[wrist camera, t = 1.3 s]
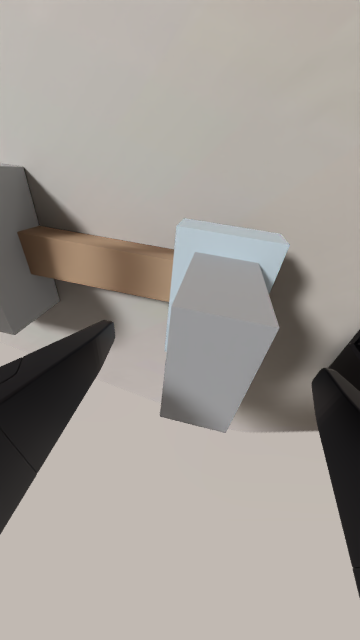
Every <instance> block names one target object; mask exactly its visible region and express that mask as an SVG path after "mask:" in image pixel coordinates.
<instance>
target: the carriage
mask: <svg viewBox="0 0 360 640" xmlns="http://www.w3.org/2000/svg"><path fill="white" fill-rule="evenodd" d="M289 246H290V244H289V243H288V242H287V241H286V240H285V238H284V237H283V236H282V235H281V234H279V233H273V232H266V231H260V230H254V229H248V228H242V227H236V226H230V225H224V224H217V223H211V222H205V221H199V220H193V219H187V218H184V219H183V220H182V221H181V222H180V223H179V224H178V225H177V227H176V238H175V248H174V258H173V269H172V279H171V290H170V300H169V311H168V321H167V331H166V342H165V352H167V354H166V363H165V373H164V382H163V392H162V401H161V411H160V416H161V417H164V418H168V419H172V420H176V421H180V422H184V423H188V424H192V425H196V426H200V427H204V428H208V429H212V430H216V431H220V432H224V433H226V431H227V429H228V427H229V425H230V423H231V421H232V420H233V418H234V416H235V414H236V412H237V410H238V408H239V406H240V404H241V402H242V400H243V398H244V396H245V394H246V392H247V390H248V388H249V386H250V384H251V382H252V381H253V379H254V377H255V375H256V373H257V371H258V369H259V367H260V365H261V363H262V361H263V359H264V357H265V355H266V353H267V351H268V349H269V347H270V345H271V343H272V342H273V340H274V338H275V336H276V334H277V332H278V330H279V325H278V322H277V319H276V316H275V312H274V309H273V306H272V303H271V300H270V297H269V293H270V291H271V289H272V286H273V284H274V281H275V279H276V277H277V274H278V272H279V270H280V267H281V265H282V262H283V260H284V258H285V255H286V253H287V251H288V248H289Z"/></svg>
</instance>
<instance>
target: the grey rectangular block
mask: <svg viewBox="0 0 360 640" xmlns="http://www.w3.org/2000/svg"><path fill="white" fill-rule="evenodd" d="M36 226H39V223H38V219H37V216H36V212H35V208H34V205H33V201H32V197H31V194H30V190H29V186H28V183H27V179H26V175H25V172H24V168H23V167H21V166H14V165H8V164H1V163H0V332H4V333H8V334H12V335H16V334H17V333H18V332H20V331H21V330H22V329H24V328H25V327H26V326H27V325H29V324H30V323H31V322H33V321H34V320H35V319H37V318H38V317H39V316H41V315H42V314H43V313H45V312H46V311H47V310H49V309H50V308H51V307H52V306H54V305H55V304H56V303H58V302H59V301H60V300H59V296H58V293H57V289H56V285H55V282H54V279H52V278H47V277H42V276H37V275H32V274H31V272H30V269H29V266H28V263H27V260H26V257H25V254H24V251H23V248H22V245H21V243H20V240H19V237H18V234H17V232H19V231H22V230H26V229H29V228H33V227H36Z"/></svg>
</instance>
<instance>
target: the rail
mask: <svg viewBox="0 0 360 640" xmlns="http://www.w3.org/2000/svg"><path fill="white" fill-rule="evenodd" d="M17 234H18V237H19V240H20V243H21V245H22V248H23V251H24V254H25V257H26V260H27V263H28V266H29V269H30V272H31V274H32V275H37V276H42V277H47V278H52V279H57V280H62V281H67V282H72V283H77V284H82V285H87V286H92V287H97V288H102V289H107V290H112V291H117V292H122V293H127V294H132V295H137V296H142V297H147V298H152V299H157V300H162V301H167V302H169V300H170V290H171V279H172V269H173V258H174V250H173V249H168V248H162V247H156V246H151V245H145V244H139V243H134V242H128V241H123V240H117V239H111V238H106V237H100V236H94V235H89V234H83V233H78V232H72V231H66V230H61V229H55V228H49V227H44V226H36V227H33V228H29V229H26V230H22V231H19V232H17Z"/></svg>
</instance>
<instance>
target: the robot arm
mask: <svg viewBox="0 0 360 640" xmlns="http://www.w3.org/2000/svg"><path fill="white" fill-rule="evenodd" d="M114 339H115V329H114V323H113V322H112V321H108V320H103V321H100V322H98V323H96V324H94V325H92V326H89V327H87V328H85V329H83V330H81V331H78V332H76V333H74V334H72V335H70V336H67V337H65V338H63V339H61V340H59V341H56V342H54V343H52V344H50V345H48V346H45V347H43V348H41V349H39V350H37V351H34V352H32V353H30V354H28V355H26V356H24V357H23V358H19V359H17V360H15V361H12V362H10V363H8V364H6V365H3V366H1V367H0V534H1V532H2V531H3V529H4V527H5V526H6V524H7V523H8V521H9V519H10V518H11V516H12V514H13V513H14V511H15V509H16V508H17V506H18V505H19V503H20V501H21V499H22V498H23V496H24V495H25V493H26V491H27V490H28V488H29V486H30V485H31V483H32V481H33V480H34V478H35V477H36V475H37V473H38V471H39V470H40V468H41V467H42V465H43V463H44V462H45V460H46V458H47V457H48V455H49V453H50V452H51V450H52V448H53V447H54V445H55V443H56V442H57V440H58V438H59V437H60V435H61V434H62V432H63V430H64V429H65V427H66V425H67V424H68V422H69V421H70V419H71V417H72V416H73V414H74V412H75V411H76V409H77V407H78V406H79V404H80V403H81V401H82V399H83V397H84V396H85V394H86V393H87V391H88V389H89V388H90V386H91V385H92V383H93V381H94V380H95V378H96V376H97V375H98V373H99V371H100V370H101V368H102V366H103V364H104V361H105V359H106V357H107V355H108V353H109V351H110V348H111V346H112V344H113V342H114ZM312 392H313V400H314V408H315V415H316V421H317V426H318V430H319V433H320V438H321V442H322V446H323V450H324V454H325V458H326V462H327V466H328V470H329V474H330V479H331V483H332V487H333V491H334V495H335V499H336V503H337V507H338V511H339V515H340V519H341V523H342V527H343V531H344V535H345V539H346V543H347V547H348V551H349V556H350V560H351V564H352V567H353V573H354V576H355V581H356V585H357V589H358V592H359V597H360V330H359V331H358V332H357V334H356V335H355V336H354V337H353V339H352V340H351V341H350V342H349V344H348V345H347V346H346V347H345V348H344V350H343V351H342V352H341V353H340V355H339V356H338V357H337V358H336V359H335V361H334V362H333V363H332V364H331V366H330V367H329V368H322V369H321V370H320V371H319V373H318V374H317V375H316V377H315V378H314V379H313V381H312Z"/></svg>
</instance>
